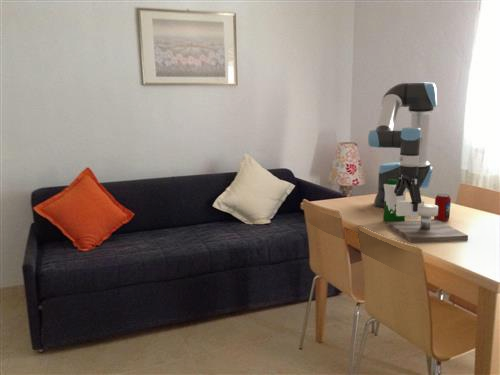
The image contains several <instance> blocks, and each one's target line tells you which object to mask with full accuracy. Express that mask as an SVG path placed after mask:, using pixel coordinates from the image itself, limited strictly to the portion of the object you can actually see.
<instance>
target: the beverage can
mask: <svg viewBox="0 0 500 375" xmlns="http://www.w3.org/2000/svg"><path fill="white" fill-rule="evenodd" d="M451 202H452V199H451V197H450V194H446V193H438V194H436V196H435V198H434V205H437V206H438V215H437V216H434V217H433V218H434V220H439V221H441V222H446V221H449V220H450V216H451V215H450V213H451Z"/></svg>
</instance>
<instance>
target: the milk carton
mask: <svg viewBox="0 0 500 375" xmlns="http://www.w3.org/2000/svg"><path fill="white" fill-rule="evenodd" d="M396 184H397V179H388V183H387V184H384V190H385V203H384V208H383V217H382V222H383V223H387V222H400V221H406V219H405V217H406V216H398V215H396V198H397V196H396V193H394V190H395V187H396ZM407 191H408V189H407V188H406V189H405V191H404V193H403V195H402V196H403V201H405V200H406V196H407V194H406V193H407Z"/></svg>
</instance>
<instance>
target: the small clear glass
mask: <svg viewBox="0 0 500 375" xmlns="http://www.w3.org/2000/svg"><path fill="white" fill-rule="evenodd" d="M431 220H432V217H425V216H420V221H421V226H420V228H421V229H424V230H429V229H430V227H431Z"/></svg>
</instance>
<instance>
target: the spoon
mask: <svg viewBox="0 0 500 375" xmlns="http://www.w3.org/2000/svg"><path fill="white" fill-rule="evenodd" d="M421 201H422V202H421V203H419V204H418V213H417V216H420V217H421V216H425V217H431V218H432V217H433V218H434V216H437V215H438V206H437V205H435V203H434V204H433V203H425V201H424V199H423V200H422V199H421ZM411 202H412V200H411V199H409V200H408V199H405V201H397V203H396V215H398V216H405V217H406V216H407V217H408V216H409V217H410V210H411Z"/></svg>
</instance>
